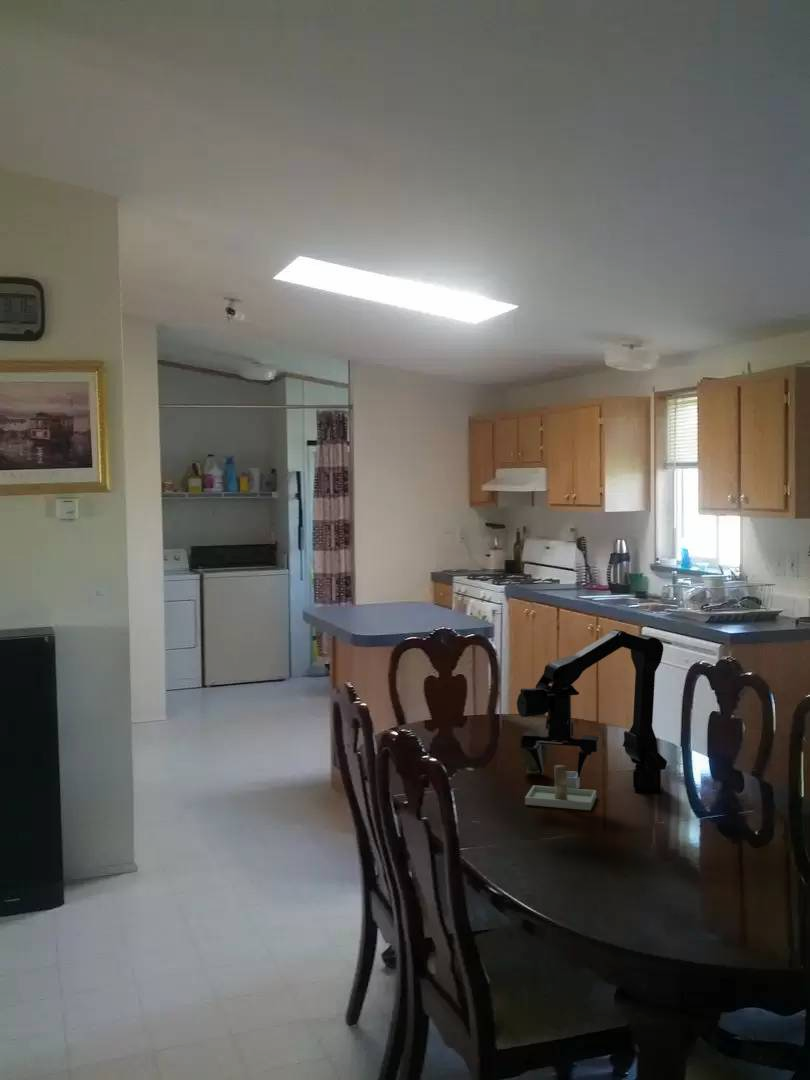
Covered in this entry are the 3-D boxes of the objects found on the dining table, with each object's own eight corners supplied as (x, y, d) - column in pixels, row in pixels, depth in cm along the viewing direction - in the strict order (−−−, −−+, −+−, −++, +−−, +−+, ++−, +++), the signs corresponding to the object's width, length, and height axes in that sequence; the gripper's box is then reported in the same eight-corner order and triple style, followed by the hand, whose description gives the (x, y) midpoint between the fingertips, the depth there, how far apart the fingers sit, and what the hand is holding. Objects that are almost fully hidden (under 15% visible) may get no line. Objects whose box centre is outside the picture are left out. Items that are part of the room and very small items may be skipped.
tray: (596, 797, 234) (596, 790, 234) (590, 810, 225) (590, 802, 224) (533, 792, 239) (533, 785, 239) (525, 804, 230) (525, 797, 230)
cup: (539, 779, 250) (538, 750, 249) (515, 775, 254) (514, 746, 254) (552, 772, 256) (551, 744, 255) (528, 768, 260) (528, 740, 260)
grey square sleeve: (579, 787, 243) (579, 771, 242) (576, 793, 237) (576, 778, 237) (558, 785, 244) (558, 770, 244) (554, 791, 239) (554, 776, 239)
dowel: (568, 797, 233) (567, 765, 232) (566, 800, 230) (565, 768, 230) (556, 796, 234) (555, 764, 233) (554, 799, 231) (553, 768, 231)
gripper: (601, 708, 235) (602, 769, 236) (528, 704, 242) (529, 763, 242) (595, 718, 225) (596, 782, 226) (519, 714, 231) (520, 776, 232)
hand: (560, 775), depth 232 cm, fingers open, 9 cm apart
